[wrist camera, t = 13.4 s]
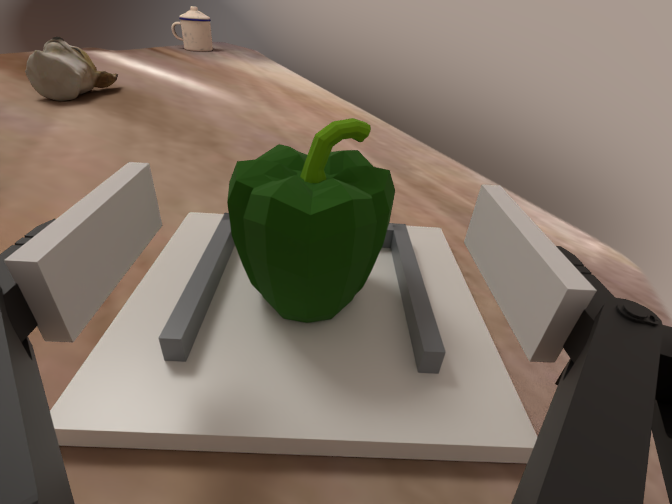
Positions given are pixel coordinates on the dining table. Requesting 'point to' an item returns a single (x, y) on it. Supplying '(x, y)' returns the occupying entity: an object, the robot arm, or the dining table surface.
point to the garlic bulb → (64, 71)
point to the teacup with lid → (195, 31)
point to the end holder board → (298, 363)
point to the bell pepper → (310, 222)
